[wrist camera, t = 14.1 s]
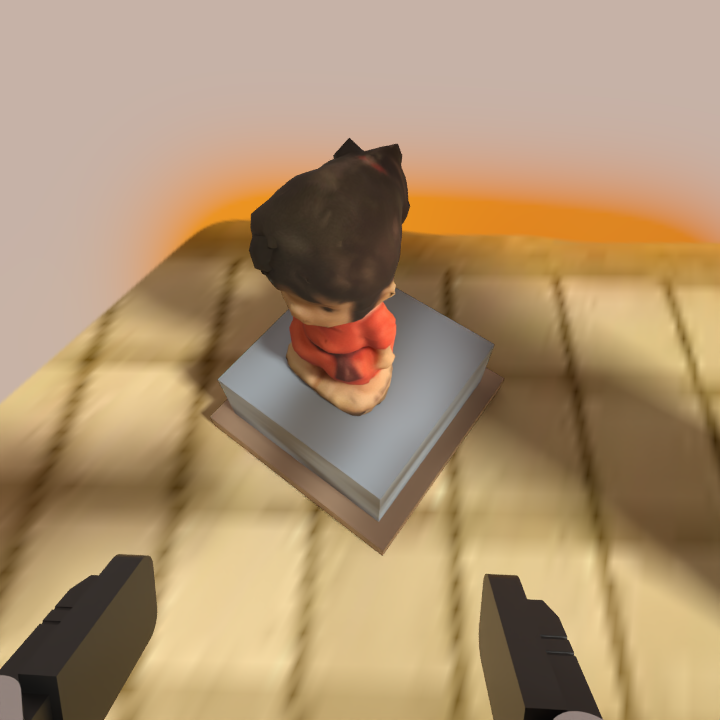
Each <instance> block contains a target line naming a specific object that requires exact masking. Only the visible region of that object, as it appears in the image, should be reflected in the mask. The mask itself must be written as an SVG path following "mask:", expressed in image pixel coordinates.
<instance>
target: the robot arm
mask: <svg viewBox="0 0 720 720" xmlns="http://www.w3.org/2000/svg"><path fill="white" fill-rule="evenodd" d="M156 619H157V602H156V591H155V580H154V569H153V561H152V559H151V557H150V556H144V555H124V554H118V555H116V556H115V557H114V558H113V559H112V560H111V561H110V562H109V564H108V565H107V566H106V567H105V569H104V570H103V571H102V572H101V573H100V575H99V576H98V575H91V576H89V577H88V578H86V579H85V580H83V581H82V582H80V583H79V584H77V585H76V586H74V587H73V588H71V589H70V590H69V591H68V592H67V593H66V594H65V596H64V597H63V598H62V599H61V600H60V601H59V602H58V604H57V605H56V606H55V609H54V610H51V612H50V613H49V614H48V615H47V616H46V617H45V618H44V620H43V623H42V624H39V625H38V627H37V628H36V629H35V630H34V631H33V632H32V633H31V635H30V636H29V637H28V638H27V639H26V640H25V641H24V643H23V644H22V645H21V646H20V647H19V648H18V649H17V651H16V652H15V653H14V654H13V655H12V656H11V658H10V659H9V660H8V661H7V662H6V663H5V664H4V666H3V667H2V668H1V669H0V720H104V719H105V717H106V715H107V714H108V712H109V710H110V708H111V707H112V705H113V703H114V701H115V700H116V698H117V696H118V694H119V693H120V691H121V689H122V687H123V686H124V684H125V682H126V681H127V679H128V677H129V675H130V674H131V672H132V670H133V668H134V667H135V665H136V663H137V661H138V660H139V658H140V656H141V654H142V653H143V651H144V649H145V647H146V646H147V644H148V642H149V640H150V639H151V636H152V634H153V631H154V628H155V624H156ZM479 649H480V657H481V663H482V667H483V672H484V677H485V681H486V686H487V691H488V696H489V700H490V705H491V710H492V715H493V719H494V720H603V718H602V716H601V714H600V712H599V709H598V707H597V705H596V702H595V700H594V698H593V696H592V693H591V691H590V689H589V686H588V684H587V682H586V679H585V677H584V675H583V672H582V670H581V668H580V665H579V663H578V661H577V658H576V656H574V651H573V649H572V647H571V645H570V642H569V640H567V635H566V633H565V631H564V628H563V626H562V624H561V621H560V619H559V617H558V616H557V615H556V614H555V613H554V612H553V611H552V610H551V609H550V608H549V607H548V606H547V604H546V603H545V602H544V601H543V600H529V599H527V598H526V595H525V592H524V590H523V587H522V584H521V582H520V579H519V577H518V576H515V575H496V574H485V576H484V581H483V591H482V602H481V613H480V623H479Z"/></svg>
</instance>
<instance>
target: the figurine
mask: <svg viewBox="0 0 720 720" xmlns="http://www.w3.org/2000/svg"><path fill="white" fill-rule="evenodd" d="M333 156H334V159H333V160H330V161H328V162H327V163H325V164H324V165H323V166H321V167H320V168H318V169H316V170H312V171H309V172H306V173H303V174H300V175H297V176H295V177H294V178H292V179H291V180H289V181H288V182H287V183H286V184H285V185H284V186H282V187H281V188H280V189H279V190H277V191H276V192H275V194H274V195H273V196H272V197H271V198H270V199H269V200H267V201H266V202H265V203H264V204H262V205H261V206H260V207H259V208H257V209H256V210H255V211H254V212H253V213H252V214H251V232H252V240H251V244H250V248H249V251H250V255H251V258H252V261H253V264H254V267H255V268H256V269H259V270H261V272H262V274H264V275H266V276H267V278H268V279H269V281H270V282H271V283H272V284H273V285H274V287H275V288H276V289H278V290H281V293H282V295H283V298H284V300H285V301H286V304H287V306H288V308H289V310H290V312H291V315H292V316H293V320H292V322H291V325H290V327H289V330H290V336H291V343H290V344H289V345H288V350H287V353H286V359H287V362H288V365H289V366H290V368H291V369H292V370H293V372H294V373H295V374H296V375H298V376H299V377H300V378H301V379H302V380H303V381H304V382H305V383H306V384H307V385H308V386H309V387H311V388H312V389H313V390H314V391H315V392H317V393H318V394H319V395H320V396H322V397H323V398H324V399H326V400H327V401H328V402H330V403H331V404H332V405H334V406H335V407H337V408H338V409H340V410H341V411H343V412H345V413H347V414H349V415H352V416H361V415H364V414H367V413H369V412H371V411H372V410H373V408H374V407H375V406H376V405H378V404H380V403H381V402H382V401H383V400H384V399H385V397H386V395H387V392H388V389H389V387H390V382H391V377H392V370H393V367H392V363H393V361H394V358H395V355H394V354H393V346H394V341H395V336H396V324H395V321H396V319H395V317H394V315H393V314H392V313H391V312H390V311H389V310H388V309H387V307H386V306H385V304H384V303H383V301H385V300H386V299H388V298H390V297H392V296H393V295H395V287H396V284H395V283H394V274H395V271H396V268H397V265H398V262H399V258H400V248H401V238H402V224H403V222H404V221H405V219H406V217H407V214H408V211H409V208H410V204H409V201H408V189H407V182H406V177H405V175H404V173H403V170H402V168H401V162H402V154H401V151H400V148H399V146H398V144H394V145H389V146H384V147H379V148H376V149H372V150H368V151H363V150H362V149H361V148H360V147H359V146H358V145H356V144H355V143H354V142H353V141H352V140H351V139H350V138H349V139H348V140H347V141H346V142H345V143H344V144H343V145H342V146H341V148H340V149H339V150H338V151H337V152H336V153H335V154H334V155H333Z"/></svg>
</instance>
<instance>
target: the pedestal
mask: <svg viewBox="0 0 720 720" xmlns="http://www.w3.org/2000/svg"><path fill="white" fill-rule="evenodd" d="M383 303H384V304H385V306H386V307H387V309H388V310H389V311H390V312H391V313H392V314H393V315H394V317H395V319H396V321H395V324H396V336H395V341H394V346H393V354H394V355H395V358H394V361H393V363H392V367H393V370H392V377H391V382H390V387H389V389H388V392H387V395H386V397H385V399H384V400H383V401H382V402H381V403H380V404H378V405H376V406H375V407H374V408H373V410H372V411H371V412H369V413H367V414H364V415H361V416H352V415H349V414H347V413H345V412H343V411H341V410H340V409H338V408H337V407H335V406H334V405H332V404H331V403H330V402H328V401H327V400H326V399H324V398H323V397H322V396H320V395H319V394H318V393H317V392H315V391H314V390H313V389H312V388H311V387H309V386H308V385H307V384H306V383H305V382H304V381H303V380H302V379H301V378H300V377H299V376H298V375H296V374H295V373H294V372H293V370H292V369H291V368H290V366H289V365H288V362H287V359H286V353H287V350H288V345H289V344H290V343H291V336H290V330H289V327H290V325H291V322H292V320H293V316H292V315H291V312H290V310H289V309H288V310H287V311H286V312H285V313H284V314H283V315H282V316H281V317H280V318H279V319H278V320H277V321H276V322H275V323H274V324H273V325H272V326H271V327H270V328H269V329H268V330H267V331H266V332H265V333H264V334H263V335H262V336H261V337H260V338H259V339H258V340H257V341H256V342H255V343H254V344H253V345H252V346H251V347H250V348H249V349H248V350H247V351H246V352H245V353H244V354H243V355H242V356H241V357H240V358H239V359H238V360H237V361H236V362H235V363H234V364H233V365H232V366H231V367H230V368H229V369H228V370H227V371H226V372H225V373H224V374H223V375H222V376H221V377H220V378H219V379H218V381H219V383H220V385H221V387H222V389H223V391H224V393H225V395H226V397H227V400H226V401H225V402H224V403H223V404H222V405H221V406H220V407H219V408H218V409H217V410H216V411H215V412H214V413H213V414H212V415H211V416H210V418H211V419H212V421H213V423H214V424H215V426H217V427H218V428H219V429H221V430H222V431H223V432H224V433H226V434H227V435H228V436H230V437H231V438H232V439H233V440H235V441H236V442H237V443H239V444H240V445H241V446H242V447H244V448H245V449H246V450H248V451H249V452H250V453H251V454H253V455H254V456H255V457H257V458H258V459H259V460H260V461H262V462H263V463H264V464H266V465H267V466H268V467H269V468H271V469H272V470H273V471H275V472H276V473H277V474H278V475H280V476H281V477H282V478H284V479H285V480H286V481H287V482H289V483H290V484H291V485H293V486H294V487H295V488H296V489H298V490H299V491H300V492H301V493H303V494H304V495H305V496H307V497H308V498H309V499H310V500H312V501H313V502H314V503H316V504H317V505H318V506H319V507H321V508H322V509H323V510H325V511H326V512H327V513H328V514H330V515H331V516H332V517H334V518H335V519H336V520H337V521H339V522H340V523H341V524H343V525H344V526H345V527H346V528H348V529H349V530H350V531H352V532H353V533H354V534H355V535H357V536H358V537H359V538H361V539H362V540H363V541H364V542H366V543H367V544H368V545H370V546H371V547H372V548H373V549H375V550H376V551H377V552H379V553H380V554H381V555H382V556H383V554H384V553H385V551H386V550H387V549H388V547H389V546H390V544H391V543H392V541H393V540H394V539H395V537H396V536H397V534H398V533H399V531H400V530H401V529H402V527H403V526H404V524H405V523H406V521H407V520H408V519H409V517H410V516H411V514H412V513H413V511H414V510H415V509H416V507H417V506H418V504H419V503H420V501H421V500H422V499H423V497H424V496H425V494H426V493H427V491H428V490H429V488H430V487H431V486H432V484H433V483H434V481H435V480H436V478H437V477H438V476H439V474H440V473H441V471H442V470H443V468H444V467H445V466H446V464H447V463H448V461H449V460H450V458H451V457H452V456H453V454H454V453H455V451H456V450H457V448H458V447H459V446H460V444H461V443H462V441H463V440H464V438H465V437H466V436H467V434H468V433H469V431H470V430H471V428H472V427H473V426H474V424H475V423H476V421H477V420H478V418H479V417H480V416H481V414H482V413H483V411H484V410H485V408H486V407H487V406H488V404H489V403H490V401H491V400H492V398H493V397H494V396H495V394H496V393H497V391H498V390H499V388H500V386H501V384H502V382H503V380H504V378H503V377H501V376H499V375H498V374H496V373H494V372H493V371H491V370H489V369H488V368H486V366H487V363H488V361H489V358H490V355H491V353H492V350H493V348H494V345H495V344H493V343H491V342H489V341H488V340H486V339H484V338H482V337H481V336H479V335H477V334H476V333H474V332H472V331H470V330H469V329H467V328H465V327H463V326H462V325H460V324H458V323H456V322H455V321H453V320H451V319H449V318H448V317H446V316H444V315H442V314H441V313H439V312H437V311H435V310H434V309H432V308H430V307H429V306H427V305H425V304H423V303H422V302H420V301H418V300H416V299H415V298H413V297H411V296H409V295H408V294H406V293H404V292H402V291H401V290H399V289H397V288H395V295H393V296H392V297H390V298H388V299H386V300H385V301H383Z"/></svg>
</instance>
